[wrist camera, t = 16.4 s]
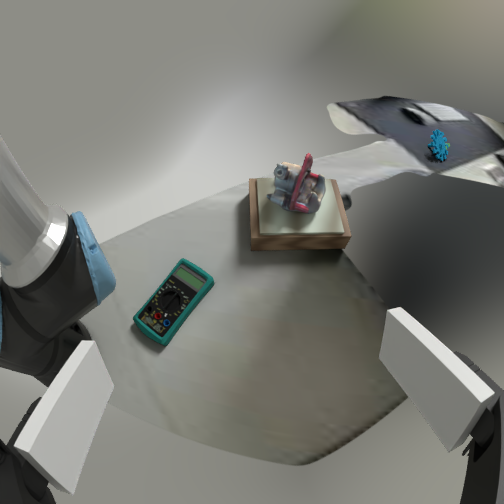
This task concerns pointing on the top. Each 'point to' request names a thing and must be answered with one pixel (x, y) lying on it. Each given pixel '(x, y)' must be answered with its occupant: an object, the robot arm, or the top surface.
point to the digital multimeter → (173, 301)
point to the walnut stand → (296, 221)
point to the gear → (439, 145)
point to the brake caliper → (298, 187)
